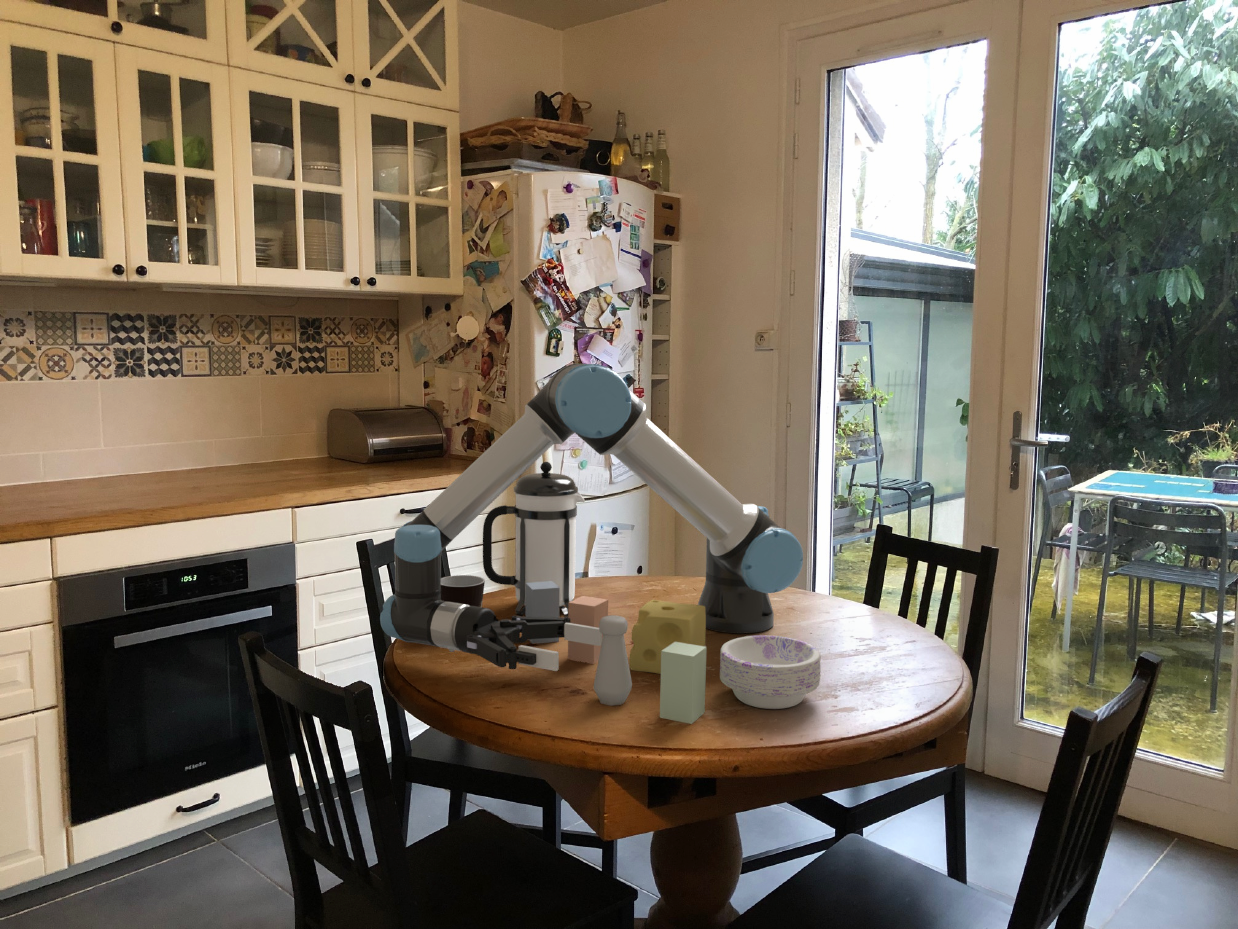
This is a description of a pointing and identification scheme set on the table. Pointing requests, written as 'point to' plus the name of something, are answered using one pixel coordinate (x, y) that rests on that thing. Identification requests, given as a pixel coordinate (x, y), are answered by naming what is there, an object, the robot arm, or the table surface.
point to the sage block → (683, 682)
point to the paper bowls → (770, 670)
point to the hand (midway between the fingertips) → (580, 649)
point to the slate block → (542, 603)
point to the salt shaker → (613, 662)
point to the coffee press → (540, 535)
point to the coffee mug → (463, 589)
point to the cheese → (664, 632)
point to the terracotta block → (589, 615)
